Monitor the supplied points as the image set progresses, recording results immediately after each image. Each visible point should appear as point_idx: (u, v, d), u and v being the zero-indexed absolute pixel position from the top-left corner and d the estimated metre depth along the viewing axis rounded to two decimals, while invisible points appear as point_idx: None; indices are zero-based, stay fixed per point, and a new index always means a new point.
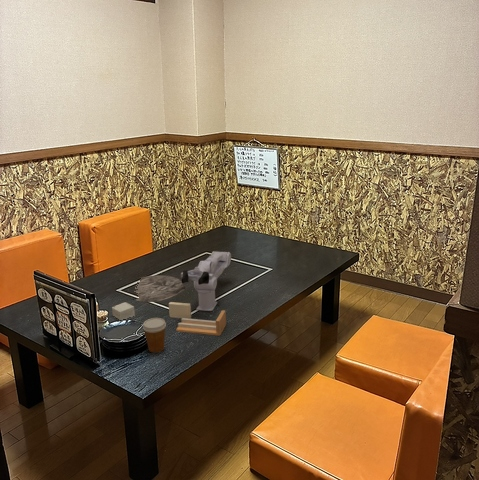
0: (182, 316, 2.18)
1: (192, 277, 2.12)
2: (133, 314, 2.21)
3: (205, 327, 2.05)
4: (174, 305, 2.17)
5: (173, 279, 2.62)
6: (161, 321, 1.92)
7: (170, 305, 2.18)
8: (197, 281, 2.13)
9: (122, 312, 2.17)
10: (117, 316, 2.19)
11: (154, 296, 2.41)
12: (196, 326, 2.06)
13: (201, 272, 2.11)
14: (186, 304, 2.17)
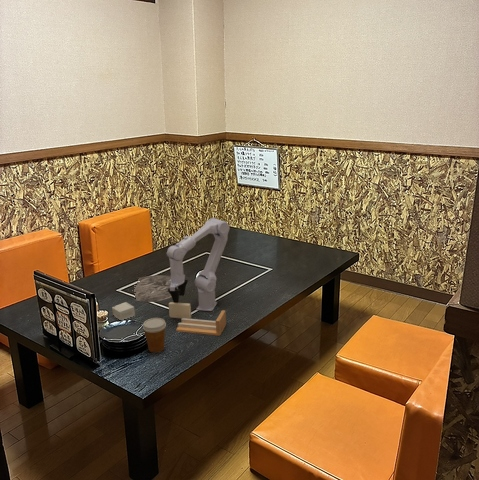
0: (182, 316, 2.18)
1: None
2: (133, 314, 2.21)
3: (205, 327, 2.05)
4: (174, 305, 2.17)
5: None
6: (161, 321, 1.92)
7: (170, 305, 2.18)
8: (183, 282, 2.13)
9: (122, 312, 2.17)
10: (117, 316, 2.19)
11: (154, 296, 2.41)
12: (196, 326, 2.06)
13: None
14: (186, 304, 2.17)
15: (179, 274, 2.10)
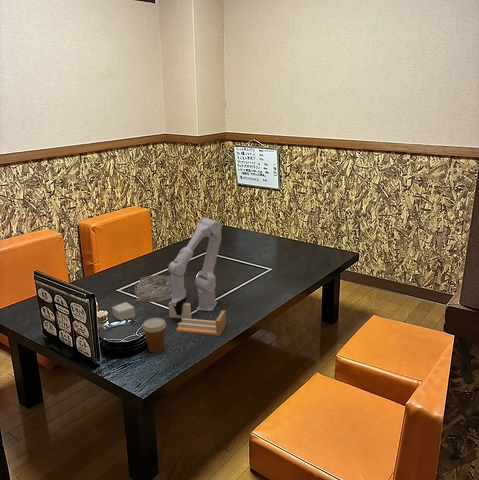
0: (182, 316, 2.18)
1: None
2: (133, 314, 2.21)
3: (205, 327, 2.05)
4: None
5: None
6: (161, 321, 1.92)
7: (170, 305, 2.18)
8: (184, 297, 2.16)
9: (122, 312, 2.17)
10: (117, 316, 2.19)
11: (154, 296, 2.41)
12: (196, 326, 2.06)
13: None
14: (186, 304, 2.17)
15: (180, 289, 2.13)
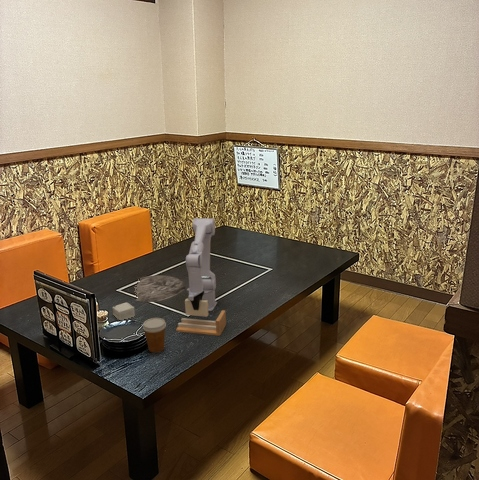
0: (199, 313, 2.07)
1: None
2: (133, 315, 2.21)
3: (205, 327, 2.05)
4: None
5: (173, 279, 2.62)
6: (161, 321, 1.92)
7: (186, 302, 2.07)
8: (201, 291, 2.04)
9: (122, 312, 2.17)
10: (117, 316, 2.19)
11: (154, 296, 2.41)
12: (196, 326, 2.06)
13: None
14: (203, 301, 2.06)
15: (198, 283, 2.01)
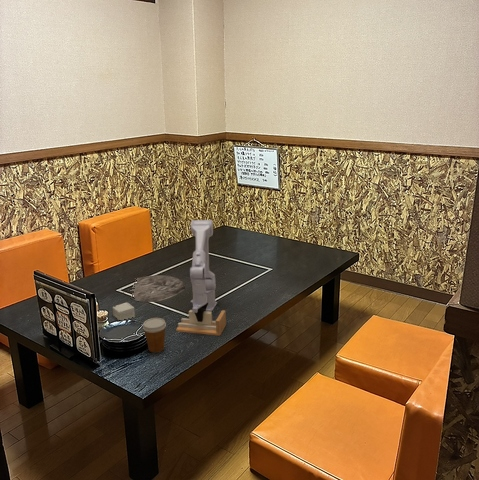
0: None
1: None
2: (133, 315, 2.21)
3: (205, 327, 2.05)
4: (194, 313, 2.07)
5: (173, 279, 2.62)
6: (161, 321, 1.92)
7: (190, 313, 2.07)
8: (205, 303, 2.05)
9: (122, 312, 2.16)
10: (117, 316, 2.19)
11: (154, 296, 2.41)
12: (196, 326, 2.06)
13: None
14: (207, 312, 2.06)
15: (202, 295, 2.02)
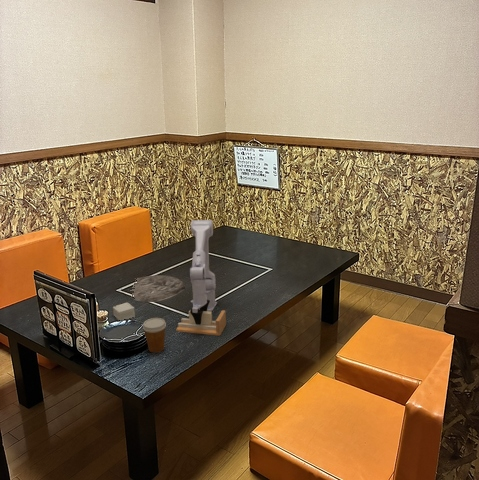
0: None
1: None
2: (133, 315, 2.20)
3: (205, 327, 2.05)
4: None
5: (173, 279, 2.62)
6: (161, 321, 1.92)
7: (190, 313, 2.07)
8: (205, 303, 2.05)
9: (121, 312, 2.16)
10: (117, 316, 2.19)
11: (154, 296, 2.41)
12: (196, 326, 2.06)
13: None
14: (207, 312, 2.06)
15: (202, 295, 2.02)
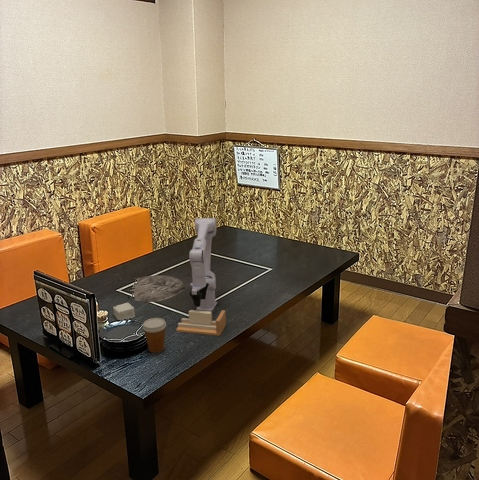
0: None
1: None
2: (133, 315, 2.20)
3: (205, 327, 2.05)
4: (194, 313, 2.07)
5: (173, 279, 2.62)
6: (161, 321, 1.92)
7: (190, 313, 2.07)
8: (204, 286, 2.09)
9: (121, 312, 2.16)
10: (117, 316, 2.19)
11: (153, 297, 2.41)
12: (196, 326, 2.06)
13: None
14: (207, 312, 2.06)
15: (201, 277, 2.06)
